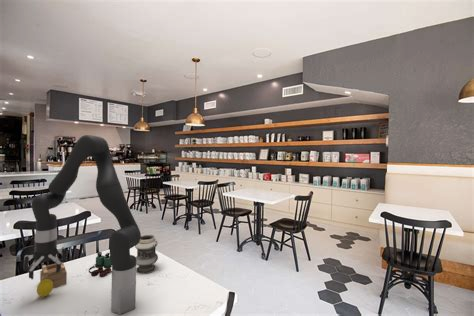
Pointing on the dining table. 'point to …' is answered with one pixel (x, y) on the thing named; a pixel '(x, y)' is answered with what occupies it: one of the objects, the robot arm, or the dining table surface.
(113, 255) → the robot arm
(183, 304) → the dining table surface
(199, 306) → the dining table surface
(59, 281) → the wooden crate
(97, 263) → the binoculars
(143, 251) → the apothecary jar
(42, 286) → the lemon
